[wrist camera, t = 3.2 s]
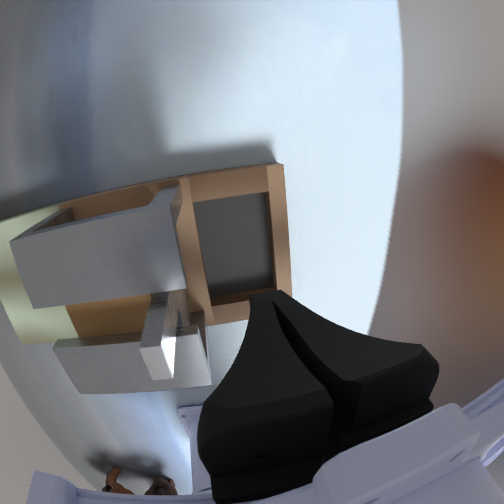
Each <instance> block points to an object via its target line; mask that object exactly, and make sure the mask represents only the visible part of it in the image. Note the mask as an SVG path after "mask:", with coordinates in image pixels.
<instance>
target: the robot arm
mask: <svg viewBox="0 0 504 504" xmlns="http://www.w3.org/2000/svg"><path fill="white" fill-rule="evenodd" d="M249 304H250V315H249V321H248V326H247V329H246V333H245V337H244V340H243V343H242V345H241V348H240V350H239V352H238V354H237V356H236V358H235V360H234V362H233V364H232V366H231V368H230V369H229V371H228V372H227V374H226V375H225V377H224V378H223V380H222V381H221V383H220V384H219V385H218V387H217V388H216V389H215V390H214V391H213V393H212V394H211V395H210V396H209V397H208V398H207V399H206V400H205V401H204V403H203V405H200V406H191V407H181V408H179V409H178V410H177V413H178V415H179V418H180V420H181V422H182V424H183V426H184V428H185V429H186V431H187V433H188V435H189V437H190V450H191V468H192V483H193V492H192V495H132V494H119V493H109V492H100V491H92V490H86V489H80V488H76V486H75V485H74V484H73V483H71V482H70V481H68V480H67V479H65V478H63V477H61V476H57V475H52V474H48V473H44V472H40V471H34V473H33V477H32V481H31V485H30V489H29V495H28V499H27V503H26V504H504V495H503V493H502V492H501V490H500V489H499V487H498V486H497V484H496V483H495V481H494V480H493V478H492V477H491V475H490V474H489V473H488V471H487V470H486V468H485V467H486V466H487V465H488V464H490V463H491V462H492V461H493V460H494V459H495V458H496V457H497V456H498V455H499V454H501V453H502V452H503V451H504V379H502V380H501V381H500V382H499V383H497V384H496V385H495V386H493V387H492V388H491V389H489V390H488V391H487V392H485V393H484V394H482V395H481V396H480V397H478V398H477V399H475V400H474V401H472V402H471V403H469V404H468V405H466V406H465V407H463V408H462V409H461V408H460V406H458V405H457V404H455V403H450V404H448V405H445V406H442V407H440V408H438V409H436V410H434V411H431V410H432V409H433V407H434V406H433V404H432V402H431V401H430V400H429V397H430V394H431V392H432V390H433V388H434V386H435V383H436V381H437V378H438V374H439V364H438V362H437V360H436V359H435V358H434V357H433V356H432V355H431V354H430V353H429V352H428V351H427V350H426V349H425V348H424V347H423V346H422V345H421V344H411V343H402V342H394V341H389V340H384V339H379V338H375V337H371V336H367V335H364V334H361V333H358V332H355V331H352V330H349V329H347V328H344V327H342V326H340V325H337V324H335V323H333V322H331V321H329V320H327V319H325V318H323V317H321V316H320V315H318V314H316V313H314V312H313V311H311V310H310V309H308V308H306V307H305V306H303V305H302V304H300V303H299V302H298V301H296V300H295V299H293V298H292V297H291V296H289V295H288V294H287V293H285V292H284V291H282V290H275V291H270V292H264V293H259V294H253V295H251V296H250V297H249Z"/></svg>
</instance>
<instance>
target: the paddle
mask: <svg viewBox="0 0 504 504" xmlns="http://www.w3.org/2000/svg"><path fill="white" fill-rule="evenodd" d="M188 316H189V305H188V300H187V296H186V292H185V289H178V290H172V291H165V292H159V293H152V297H151V300H150V304H149V308H148V312H147V316H146V320H145V324H144V328H143V332H142V337H141V341H140V345H139V350H140V352H141V355H142V357H143V360H144V362H145V364H146V366H147V369H148V371H149V373H150V375H151V378H152V380H162V379H172V378H173V372H174V356H175V342H176V329H177V327H180V326H187V325H188Z"/></svg>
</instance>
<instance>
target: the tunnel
mask: <svg viewBox="0 0 504 504" xmlns="http://www.w3.org/2000/svg"><path fill="white" fill-rule="evenodd" d="M182 203H183V197H182V191H181V184H175V185H170V186H164V187H163V188H162V189H161V190H160V191H159V192H158V194H157V195H156V196H155V197H154V199H153V200H152V201H151V202H150V203H149V205H148V206H143V207H138V208H133V209H128V210H123V211H118V212H114V213H109V214H104V215H100V216H95V217H91V218H86V219H82V220H78V221H75V218H74V213H73V209H72V207H69V208H65V209H61V210H58V211H57V212H55V213H53V214H51V215H50V216H48V217H46V218H45V219H43V220H42V221H40V222H38V223H37V224H35V225H33V226H32V227H30V228H29V229H27V230H26V231H24V232H23V233H21V234H19V235H18V236H16V237H15V238H13V239H12V240H11V241H9V244H10V248H11V251H12V254H13V257H14V260H15V263H16V266H17V269H18V271H19V274H20V277H21V280H22V282H23V285H24V287H25V290H26V292H27V295H28V297H29V300H30V302H31V304H32V307H33V309H39V308H47V307H55V306H64V305H72V304H79V303H87V302H95V301H102V300H110V299H117V298H124V297H131V296H138V295H145V294H152V293H159V292H165V291H172V290H178V289H185V288H186V287H187V277H186V273H185V268H184V263H183V259H182V254H181V249H180V244H179V239H178V234H177V228H176V223H177V219H178V216H179V213H180V209H181V206H182ZM142 332H143V331H141V332H133V333H124V334H114V335H104V336H93V337H81V338H68V339H57V341H56V343H55V345H54V346H53V350H54V352H55V354H56V355H57V357H58V359H59V361H60V362H61V364H62V366H63V368H64V369H65V371H66V373H67V374H68V376H69V378H70V379H71V381H72V383H73V384H74V386H75V387H76V389H77V390H78V392H79V393H80V394H113V393H135V392H151V391H163V390H173V389H183V388H191V387H199V386H207V385H212V380H211V369H210V357H209V344H208V330H207V320H206V316H205V311H197V312H190V318H189V325H187V326H180V327H177V329H176V342H175V356H174V372H173V378H172V379H162V380H152V378H151V375H150V373H149V371H148V369H147V366H146V364H145V362H144V360H143V357H142V355H141V352H140V350H139V345H140V341H141V337H142Z"/></svg>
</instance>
